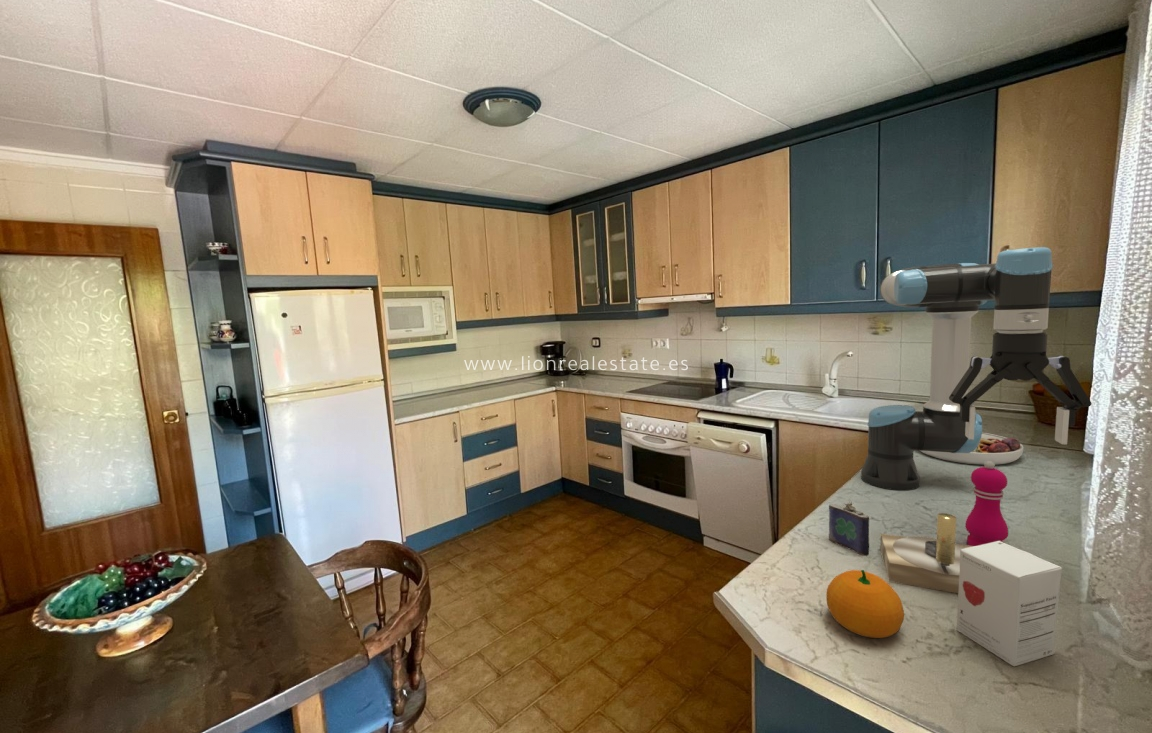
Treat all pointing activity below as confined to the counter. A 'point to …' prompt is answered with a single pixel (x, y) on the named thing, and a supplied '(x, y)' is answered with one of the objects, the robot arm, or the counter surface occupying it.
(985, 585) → the supplement box
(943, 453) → the bowl
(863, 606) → the fruit
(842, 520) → the flask
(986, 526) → the pepper mill
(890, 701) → the counter surface
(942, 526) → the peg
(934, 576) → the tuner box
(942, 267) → the robot arm
